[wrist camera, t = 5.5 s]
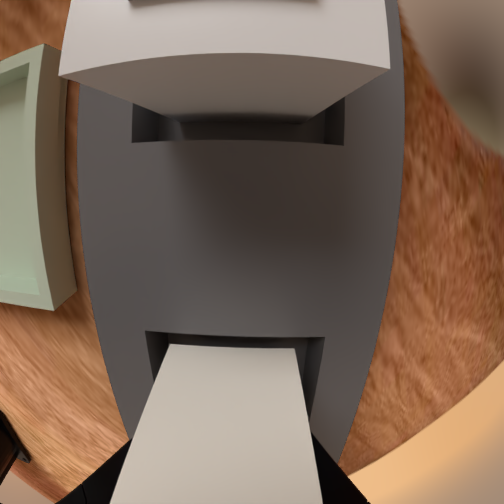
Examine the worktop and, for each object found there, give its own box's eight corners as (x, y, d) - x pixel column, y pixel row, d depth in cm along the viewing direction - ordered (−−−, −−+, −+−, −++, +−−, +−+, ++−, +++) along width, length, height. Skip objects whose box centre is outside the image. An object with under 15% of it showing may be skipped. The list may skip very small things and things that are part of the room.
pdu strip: (322, 433, 14) (333, 481, 11) (154, 426, 14) (139, 473, 11) (352, -74, 7) (371, -114, 4) (148, -75, 7) (127, -114, 4)
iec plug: (284, 428, 11) (298, 596, 4) (182, 424, 11) (147, 586, 4) (294, 348, 10) (333, 569, 3) (170, 343, 10) (95, 549, 3)
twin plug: (302, 123, 10) (397, 64, 3) (180, 122, 10) (49, 72, 3) (302, 18, 8) (360, -125, 2) (186, 17, 8) (108, -117, 2)
